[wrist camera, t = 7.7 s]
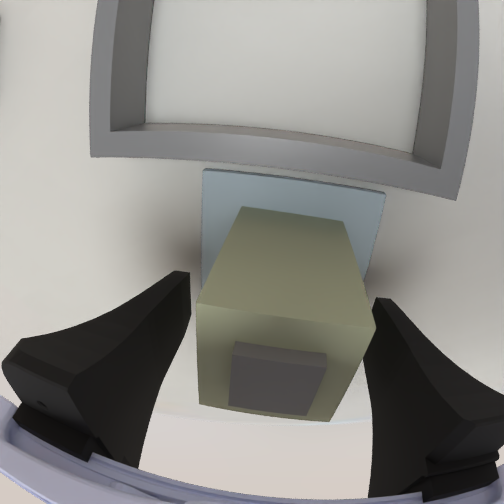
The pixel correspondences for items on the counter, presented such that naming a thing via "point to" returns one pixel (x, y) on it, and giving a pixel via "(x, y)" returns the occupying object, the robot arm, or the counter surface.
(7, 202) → the counter surface
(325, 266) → the block
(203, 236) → the mat
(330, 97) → the counter surface
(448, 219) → the counter surface
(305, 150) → the case
